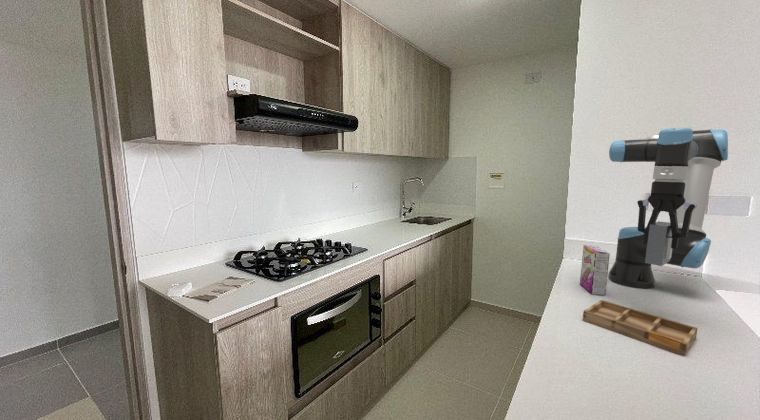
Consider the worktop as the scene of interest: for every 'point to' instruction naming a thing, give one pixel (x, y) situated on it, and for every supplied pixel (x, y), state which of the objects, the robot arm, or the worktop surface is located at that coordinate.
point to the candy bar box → (594, 269)
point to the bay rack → (642, 326)
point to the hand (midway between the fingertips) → (658, 256)
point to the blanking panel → (658, 243)
